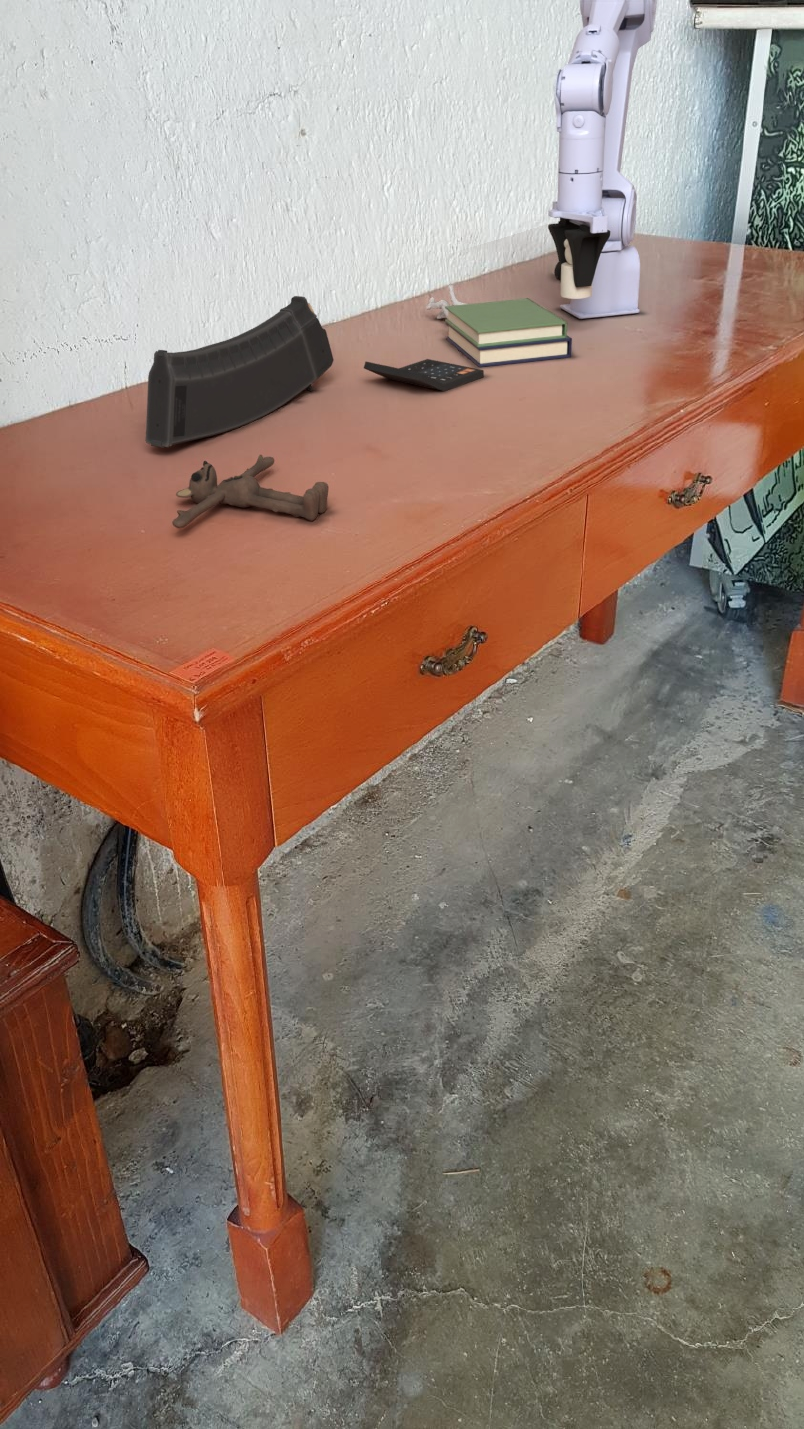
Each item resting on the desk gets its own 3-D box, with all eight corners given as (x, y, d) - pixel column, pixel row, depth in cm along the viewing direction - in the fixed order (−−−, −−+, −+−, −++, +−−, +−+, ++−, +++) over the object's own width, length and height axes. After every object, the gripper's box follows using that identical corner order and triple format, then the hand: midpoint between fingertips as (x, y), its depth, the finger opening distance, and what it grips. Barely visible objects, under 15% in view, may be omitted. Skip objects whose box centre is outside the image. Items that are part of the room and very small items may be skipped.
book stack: (531, 330, 161) (531, 297, 159) (571, 357, 148) (572, 322, 146) (445, 339, 159) (444, 306, 157) (478, 367, 146) (478, 332, 144)
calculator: (483, 377, 142) (483, 352, 141) (420, 399, 135) (420, 374, 134) (427, 365, 148) (426, 341, 146) (364, 386, 141) (363, 362, 139)
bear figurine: (274, 521, 97) (128, 488, 101) (275, 567, 99) (132, 533, 103) (361, 453, 111) (229, 426, 115) (360, 494, 113) (231, 467, 117)
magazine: (140, 379, 114) (304, 237, 130) (116, 376, 116) (281, 236, 131) (195, 517, 126) (339, 372, 142) (173, 512, 128) (317, 369, 143)
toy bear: (560, 292, 156) (561, 235, 152) (591, 291, 155) (593, 234, 152) (560, 299, 152) (562, 241, 148) (592, 298, 152) (595, 240, 148)
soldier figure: (458, 321, 172) (512, 306, 162) (446, 349, 171) (500, 335, 161) (422, 289, 167) (476, 271, 158) (410, 317, 166) (462, 301, 157)
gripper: (531, 167, 151) (530, 275, 158) (571, 180, 139) (567, 296, 146) (582, 163, 152) (578, 270, 160) (625, 175, 140) (619, 291, 148)
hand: (576, 282), depth 153 cm, fingers closed on toy bear, 4 cm apart
